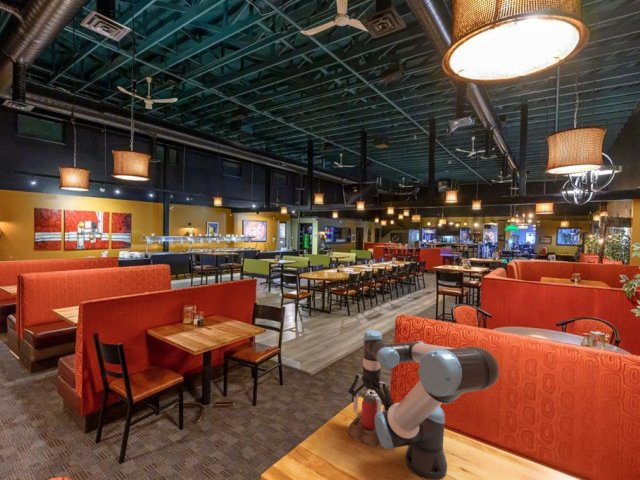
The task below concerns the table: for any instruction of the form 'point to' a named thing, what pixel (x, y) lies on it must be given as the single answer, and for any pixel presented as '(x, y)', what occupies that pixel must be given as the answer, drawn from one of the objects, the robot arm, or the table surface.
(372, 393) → the can
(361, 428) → the walnut tray
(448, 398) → the robot arm
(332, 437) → the table surface
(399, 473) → the table surface
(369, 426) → the beer can
